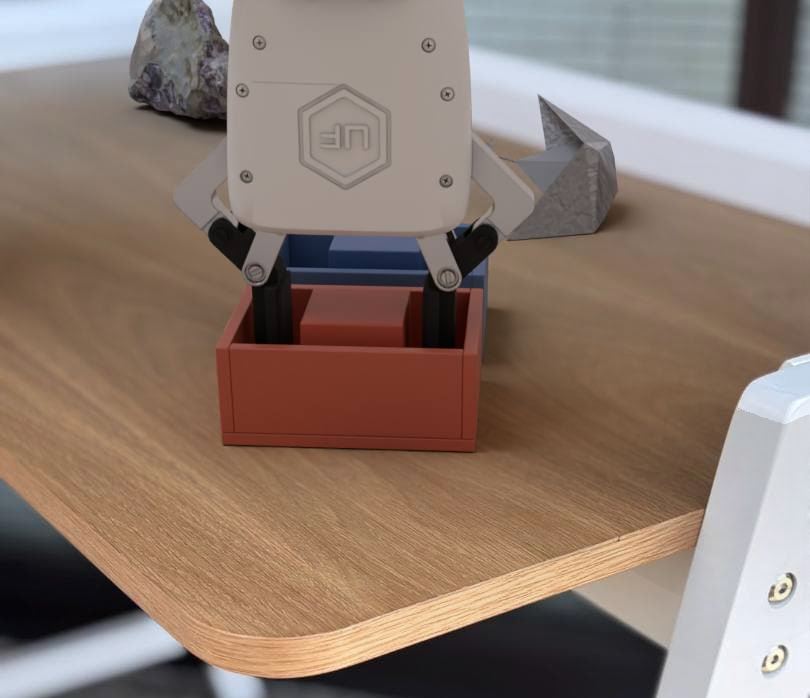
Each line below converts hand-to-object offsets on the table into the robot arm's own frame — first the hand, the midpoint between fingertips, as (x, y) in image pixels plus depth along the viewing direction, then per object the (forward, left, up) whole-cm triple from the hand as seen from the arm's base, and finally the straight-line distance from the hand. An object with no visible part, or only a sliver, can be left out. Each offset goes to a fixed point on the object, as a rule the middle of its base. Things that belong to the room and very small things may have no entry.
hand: (356, 358), depth 68 cm
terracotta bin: (0, 0, -3) cm, 3 cm away
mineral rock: (-19, +55, -3) cm, 58 cm away
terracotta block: (0, 0, -2) cm, 2 cm away
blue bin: (0, +10, -3) cm, 10 cm away
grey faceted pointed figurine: (+9, +31, -3) cm, 32 cm away
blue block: (0, +10, -2) cm, 10 cm away
